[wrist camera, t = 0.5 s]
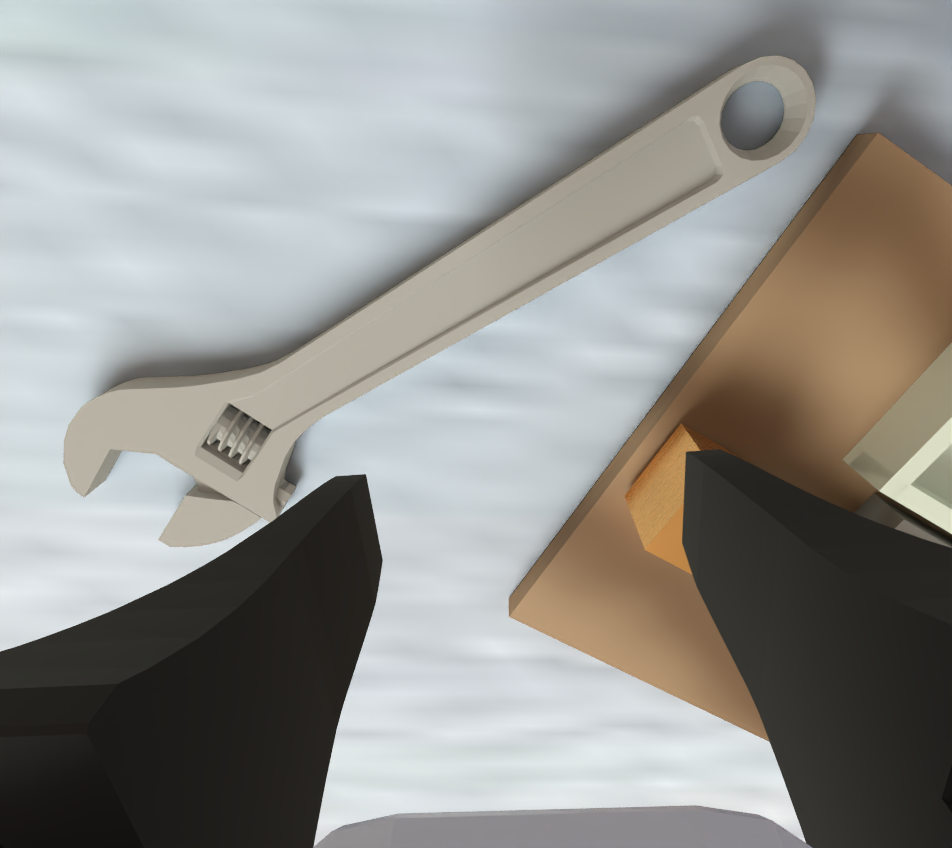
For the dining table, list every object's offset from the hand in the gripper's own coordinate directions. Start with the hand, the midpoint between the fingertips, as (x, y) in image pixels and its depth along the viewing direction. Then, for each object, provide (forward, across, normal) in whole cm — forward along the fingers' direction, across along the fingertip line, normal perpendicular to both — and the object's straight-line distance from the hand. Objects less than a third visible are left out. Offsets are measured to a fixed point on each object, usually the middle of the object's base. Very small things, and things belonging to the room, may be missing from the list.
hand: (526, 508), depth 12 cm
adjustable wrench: (+9, +3, -1) cm, 10 cm away
